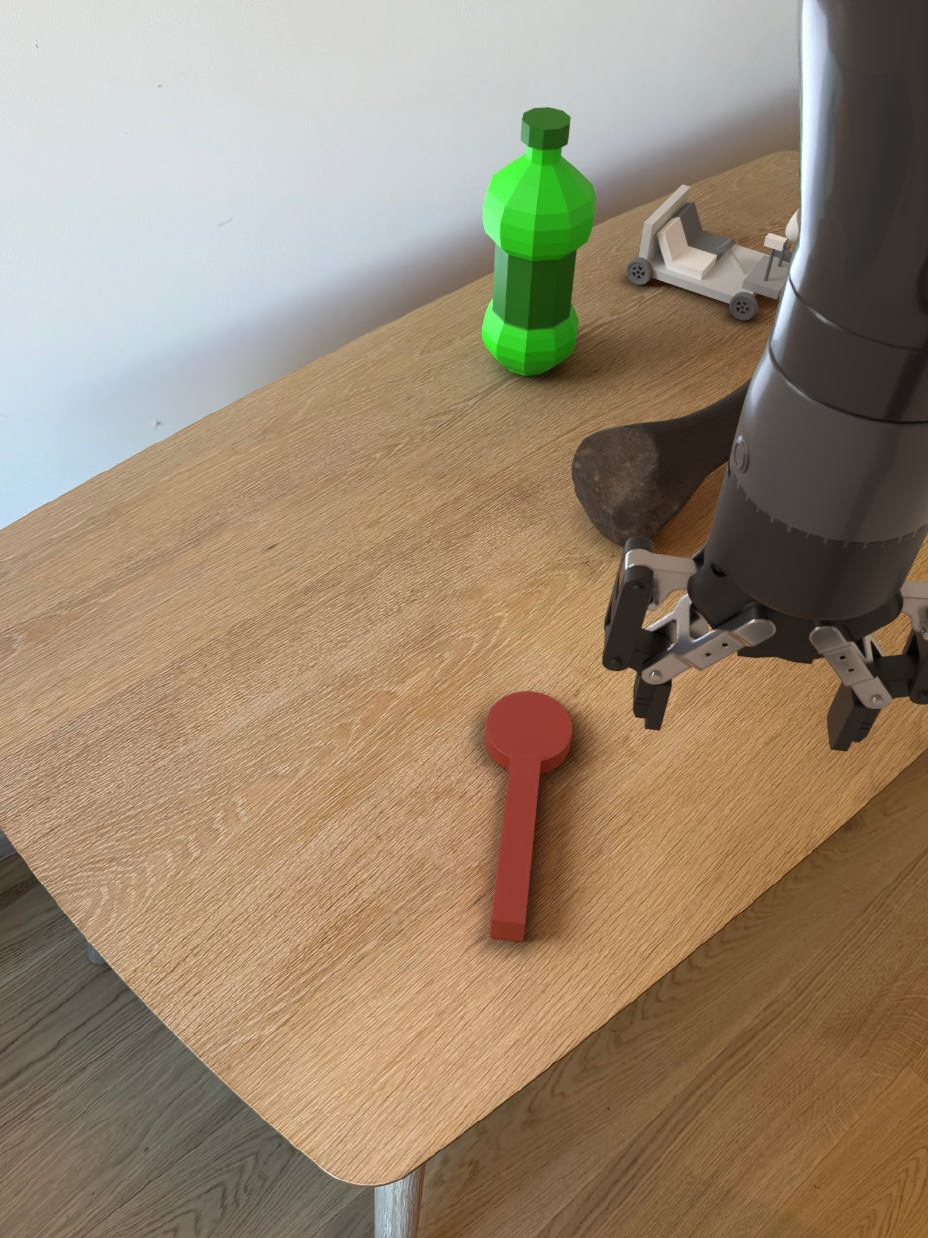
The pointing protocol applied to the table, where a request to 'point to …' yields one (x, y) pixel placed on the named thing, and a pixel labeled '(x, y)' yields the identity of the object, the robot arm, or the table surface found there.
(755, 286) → the toy car
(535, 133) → the plastic bottle
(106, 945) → the table surface
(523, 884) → the red flat paddle piece
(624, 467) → the dark brown bone
